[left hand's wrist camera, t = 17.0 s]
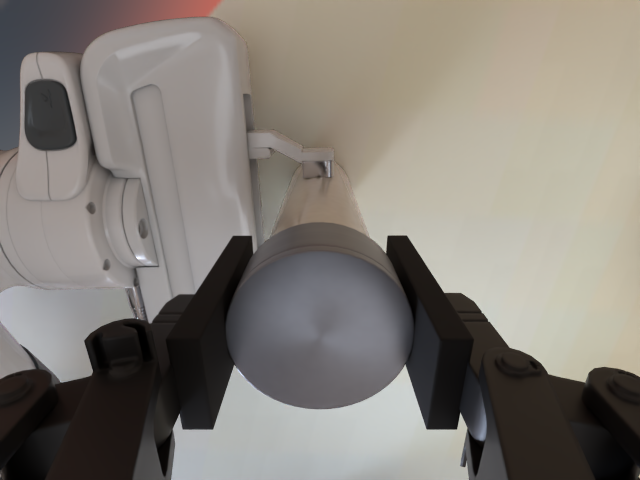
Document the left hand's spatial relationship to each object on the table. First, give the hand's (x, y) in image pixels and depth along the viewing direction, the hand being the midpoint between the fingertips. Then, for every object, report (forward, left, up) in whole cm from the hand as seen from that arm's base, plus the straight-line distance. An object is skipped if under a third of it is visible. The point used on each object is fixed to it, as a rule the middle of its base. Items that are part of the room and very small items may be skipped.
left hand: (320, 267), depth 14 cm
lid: (0, 0, +4) cm, 4 cm away
